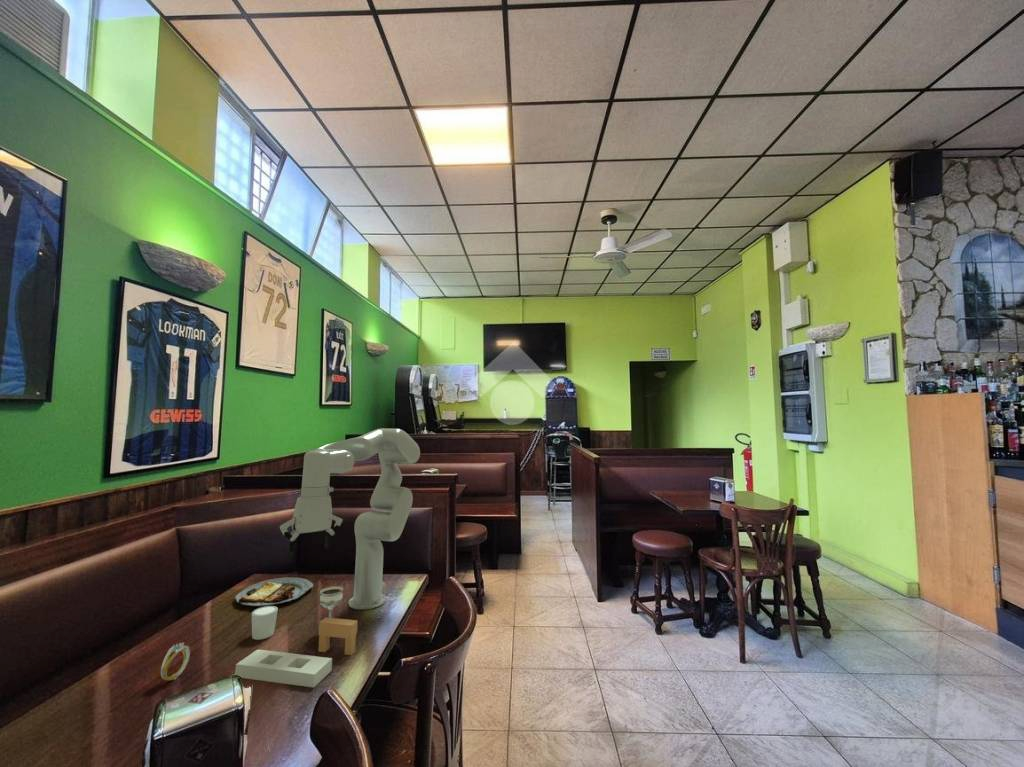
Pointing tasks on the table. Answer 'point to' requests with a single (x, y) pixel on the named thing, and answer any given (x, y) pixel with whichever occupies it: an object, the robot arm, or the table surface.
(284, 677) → the slotted rail
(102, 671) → the table surface
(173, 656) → the bracelet
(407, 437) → the robot arm
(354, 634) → the staple clip
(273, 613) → the white tapered cylinder
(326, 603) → the wineglass
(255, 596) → the food plate
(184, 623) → the table surface
